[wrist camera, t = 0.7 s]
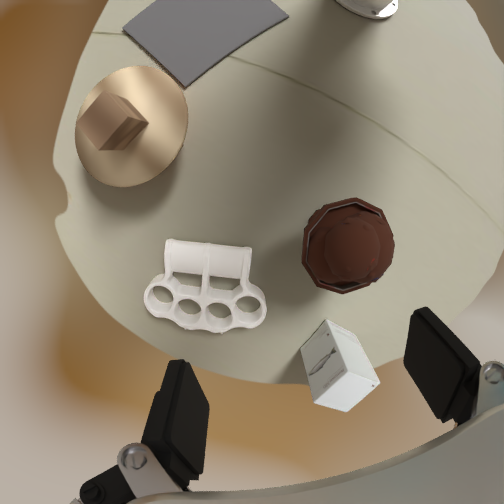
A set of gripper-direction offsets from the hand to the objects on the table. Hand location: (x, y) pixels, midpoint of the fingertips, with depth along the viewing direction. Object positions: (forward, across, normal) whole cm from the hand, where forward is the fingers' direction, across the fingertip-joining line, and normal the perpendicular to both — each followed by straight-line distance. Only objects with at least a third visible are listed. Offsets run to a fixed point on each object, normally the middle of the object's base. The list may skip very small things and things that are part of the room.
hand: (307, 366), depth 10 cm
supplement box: (+28, -7, +23) cm, 37 cm away
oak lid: (+23, +14, -16) cm, 31 cm away
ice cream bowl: (+28, -8, +3) cm, 30 cm away
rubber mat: (+28, +2, -31) cm, 42 cm away
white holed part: (+29, +10, +9) cm, 32 cm away
